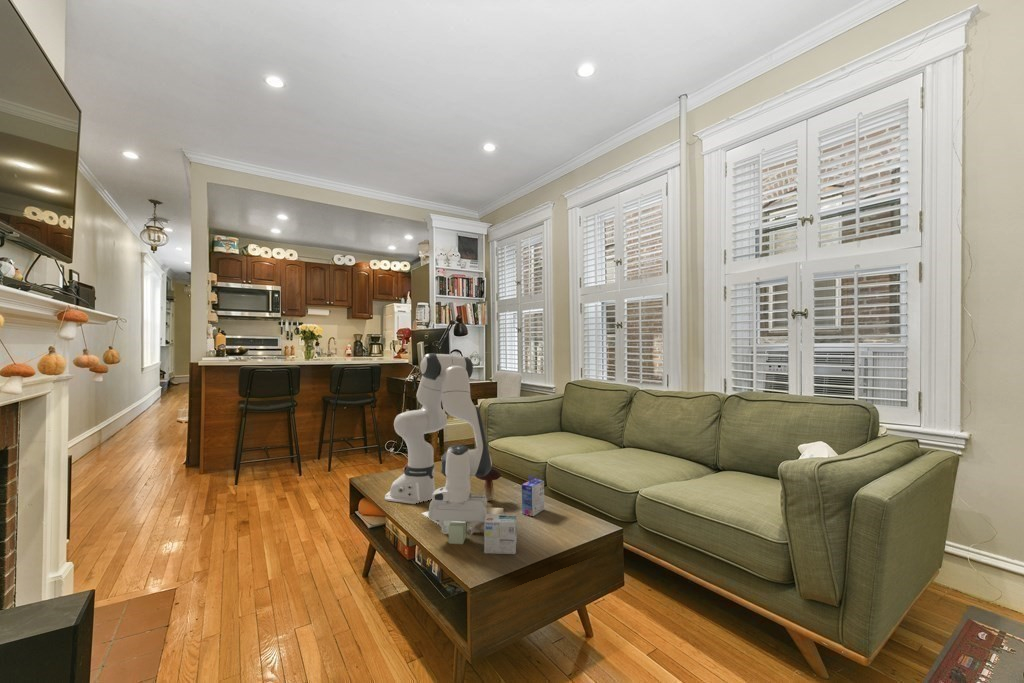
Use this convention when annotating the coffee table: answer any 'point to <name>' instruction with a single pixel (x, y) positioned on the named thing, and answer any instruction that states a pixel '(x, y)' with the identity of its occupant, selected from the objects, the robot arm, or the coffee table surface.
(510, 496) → the coffee table surface
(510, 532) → the light bulb box
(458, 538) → the sage block
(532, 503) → the ink cartridge box
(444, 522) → the off-white block
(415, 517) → the coffee table surface
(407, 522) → the coffee table surface
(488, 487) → the decorative mushroom
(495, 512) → the birch block
